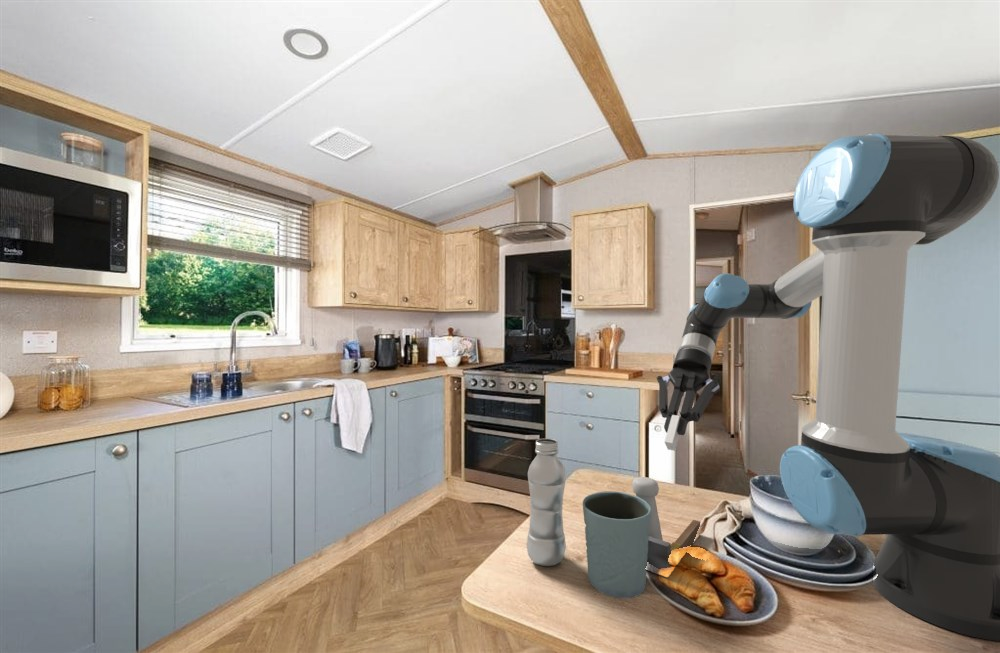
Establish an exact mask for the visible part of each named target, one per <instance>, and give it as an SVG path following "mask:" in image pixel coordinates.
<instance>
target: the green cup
mask: <svg viewBox="0 0 1000 653" xmlns="http://www.w3.org/2000/svg"><path fill="white" fill-rule="evenodd" d="M582 510H583V521H584V524H585V526H584V527H585V528H584V533H585V547H586V558H587V559H586V562H587V577H588V580H589V582H590V584H591V586H592V587H593V588H594V589H595V590H597V591H598V592H599V593H602V594H604V595H606V596H609V597H612V598H616V599H617V598H618V599H632V598H636V597H638V596H640V595H642V594H643V592H644V591H645V588H646V584H647V582H646V581H647V571H646V569H645V568H646V566H647V559H648V556H647V554H648V541H649V537H648V536H649V527H650V518H651V507H650V505H649V504H648V503H647V502H646V501H644V500H643V499H641V498H639V497H637V496H636V495H634V494H630V493H627V492H623V491H616V490H615V491H612V490H609V491H608V490H606V491H598V492H594V493H590V494H588V495H587V496H585V497H584V498H583V499H582Z"/></svg>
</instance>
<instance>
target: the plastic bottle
mask: <svg viewBox="0 0 1000 653" xmlns="http://www.w3.org/2000/svg"><path fill="white" fill-rule="evenodd" d="M558 445H559V444H558V440H557V439H555V438H554V439H553V438H539V439H537V440H535V450H534V452H535V454H536V456H535V457H534V459H533V460H532V461H531V463H530V464H529V467H528V470H527V481H528V488H529V496H530V497H529V499H530V500H529V501H530V502H529V504H530V515H529V516H530V518H529V528H528V534H527V539H526V549H527V550H526V552H527V556H528V557H529V559H530V560H531V561H532V563H534V564H536V565H537V566H542V567H552V566H556V565H558V564H560V563H561V562H562V560H563V559H564V557H565V555H566V550H567V549H566V548H567V542H566V536H565V532H564V520H563V519H564V518H563V508H564V507H563V505H564V504H563V503H564V493H565V487H566V480H567V472H566V467H565V466H564V464H563V462H562V461H561V459H560V458H559V457H558V454H559V448H558V447H559V446H558Z"/></svg>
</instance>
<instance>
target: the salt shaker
mask: <svg viewBox="0 0 1000 653" xmlns="http://www.w3.org/2000/svg"><path fill="white" fill-rule="evenodd" d="M631 485H632V486H631V487H632V492H633V493H634V494H635V496H637V497H639V498H641V499H643V500H644V501H646V502H647V503H648V504H649V505H650V507H651V518H650V527H649V536H651V537H654V538H657V539H660V540H663V535H662V534H663V533H662V529H661V525H660V524H661V523H660V517H659V512H658V507H657V501H656V496H658V495H659V492H660V491H659V490H660V487H659V484H658V482H657V481H656V480H655V479H654V478H652V477H646V476H639V477H635V478H634V479H633V480H632V484H631ZM663 541H664V540H663Z"/></svg>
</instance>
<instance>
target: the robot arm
mask: <svg viewBox="0 0 1000 653" xmlns="http://www.w3.org/2000/svg"><path fill="white" fill-rule="evenodd" d="M999 177H1000V171H999V165H998V162H997V160H996V158H995V155H994V154H993V152H991V150H990V149H988V148H987V147H986V146H985V145H983V144H982V143H980V142H978V141H975V140H973V139H971V138H967V137H964V136H958V135H937V136H935V135H934V136H933V135H900V134H899V135H897V134H895V135H892V134H890V135H888V134H883V133H870V134H866V135H864V134H863V135H849V136H843V137H841V138H838V139H836V140H833V141H831V142H830V143H828V144H827V145H825V146H824V147H822V148H821V149H820V150H819V151H818V152H817V153H816V154H815V155H814V156H813V157H812V158H811V159H810V161H809V163H808V164H807V166H805V168H804V169H803V171H802V173H801V175H800V176H799V178H798V181H797V183H796V186H795V190H794V194H793V201H792V202H793V205H792V206H793V210H794V211H793V212H794V214H795V216H797V220H798V221H799V222H800V223H801V224H802V225H805V226H806V227H808V228H811V229H812V235H811V237H812V238H811V244H812V245H813V246H815V248H817V249H818V250H816V251H815V252H814V253H812V254H811V255H809V257H807V258H805V259H804V260H803V261H801V262H799V263H798V264H797V265H795V266H794V267H793V268H791V269H789V270H788V271H787V272H786V273H784V274H782V275H781V276H780V277H779V278H777V279H775V280H774V281H773V282H771V283H767V284H764V283H763V284H761V283H760V284H758V283H757V284H756V283H748V282H747V280H745V279H744V278H743V277H741V276H739V275H734V274H732V273H727V272H726V273H721V274H718V275H717V276H715V277H714V279H713V280H712V281H711V282H710V284H709V285H708V286H707V287H706V289H704V292H703V295H702V296H701V298H700V299H699V302H698V303H697V304H694V305H693V306H692V307H691V308H690V311H689V313H688V315H687V316H686V322H685V326H684V329H683V333H682V336H681V340H680V342H679V345H678V347H677V352H676V354H675V358H674V361H673V365H672V369H671V370H670V371H669V372H668V375H666V376H662V375H658V376H657V377H656V380H657V383H658V386H659V392H658V400H659V402H658V403H659V404H658V405H659V408H658V409H659V412H660V414H661V417H662V418H663V419H665V423H664V426H663V428H664V431H665V433H666V436H665V439H664V444H665V446H666V449H667V450H668V451H669V450H670V451H676V450H677V446H678V442H679V438H680V436H684V435H685V434H686V431H687V427H688V423H690V422H694V423H698V422H699V421H700V419H701V417H702V416H703V414H704V412H705V410H706V408H707V407H708V405H709V403H710V402H711V400H712V399H713V396H714V395H716V394H717V393H718V392H719V391H720V390H721V389H720V385H719V384H720V383H719V381H718V379H711V377H710V373H711V372H710V371H711V367H712V364H713V360H714V355H715V350H716V347H717V342H718V338H719V335H720V333H721V332H722V330H723V329H724V327H726V325H727V324H728V323H729V321H731V319H755V318H756V319H757V318H758V319H782V320H787V319H791V318H792V319H794V318H801V317H804V316H805V315H806V314H807V313H808V310H809V309H811V308H812V302H813V301H815V300H816V299H819V298H820V297H821V308H820V310H821V311H820V312H821V313H820V326H819V327H820V328H819V344H818V346H819V347H818V363H817V365H818V366H817V380H816V382H817V384H816V396H815V398H816V399H815V400H816V401H815V413H814V414H815V415H814V416H815V417H814V419H812V420H811V421H809V422H808V423H807V424H804V425H803V426H802V427H801V437H800V438H801V440H800V445H799V444H798V445H794V446H793V445H792V446H790V447H789V448H787V449H786V450H785V452H783V453H782V455H781V458H780V460H779V461H780V463H779V473H780V480H781V483H782V486H783V489H784V492H785V495H786V496H787V498H788V500H790V504H791V505H792V507H793V508H794V509H795V511H796V512H797V513H798V515H799V516H800V517H801V518H802V519H803V520H804V521H805V522H806V523H808V524H809V525H810V526H811V527H813V528H815V529H816V530H818V531H821V532H823V533H826V534H832V535H847V536H850V537H861V536H862V535H863V536H865V535H867V536H868V535H875V536H876V535H886V537H885V539H884V541H883V542H882V545H881V546H880V549H879V551H878V552H877V555H875V556H876V557H875V558H874V560H873V562H874V566H875V568H876V574H878V576H877V578H876V579H875V581H874V582H873V583H872V585H873V587H874V588H875V589H876V590H877V592H878V593H879V594H880V596H883V598H885V599H886V600H887V601H889V602H891V603H892V604H893V605H895V606H897V607H898V608H900V609H901V610H903V611H905V612H907V613H909V614H911V615H912V616H915V617H917V618H919V619H921V620H923V621H926V622H927V623H929V624H933V625H935V626H937V627H940V628H943V629H945V630H949V631H951V632H954V633H958V634H962V635H966V636H969V637H973V638H978V639H983V640H988V641H995V642H996V641H997V642H1000V455H998V454H996V453H994V452H992V451H990V450H986V449H983V448H979V447H977V446H973V445H969V444H963V443H960V442H955V441H952V440H951V441H950V440H946V439H941V438H936V437H931V436H930V437H929V436H925V435H920V434H913V433H907V432H905V433H904V432H898V431H897V430H896V425H897V424H896V423H897V410H898V397H899V396H898V395H899V382H900V368H901V367H900V366H901V354H902V342H903V341H902V339H903V337H902V336H903V324H904V323H903V322H904V313H905V312H904V308H905V297H906V296H905V295H906V280H907V267H908V252H909V250H910V249H911V248H912V247H913V246H924V245H930V244H931V243H933V242H935V241H937V240H939V239H941V238H942V237H944V236H947V235H948V234H950V233H952V232H954V231H955V230H957V229H958V228H960V227H962V226H963V225H965V224H966V223H967V222H969V221H970V220H971V219H973V218H974V217H975V216H977V215H978V214H979V213H980V212H981V211H983V208H985V207H986V205H987V204H988V203H989V202H990V201H991V199H992V197H993V196H994V194H995V192H996V189H997V187H998V184H999V179H1000V178H999ZM670 382H671V384H672V385H673V391H672V395H671V398H670V402H668V401H669V399H668V398H669V396H668V394H669V391H668V388H669V385H670ZM701 389H703V390H702V391H701V393H700V395H699V396H698V398H697V394H698V392H699V391H700V390H701ZM683 397H684V399H683V402H682V398H683ZM696 398H697V400H696V401H695V399H696ZM681 402H682V406H681ZM694 402H695V403H694ZM668 403H669V404H668ZM680 406H681V410H680V411H679V409H680ZM678 413H679V415H678Z"/></svg>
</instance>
